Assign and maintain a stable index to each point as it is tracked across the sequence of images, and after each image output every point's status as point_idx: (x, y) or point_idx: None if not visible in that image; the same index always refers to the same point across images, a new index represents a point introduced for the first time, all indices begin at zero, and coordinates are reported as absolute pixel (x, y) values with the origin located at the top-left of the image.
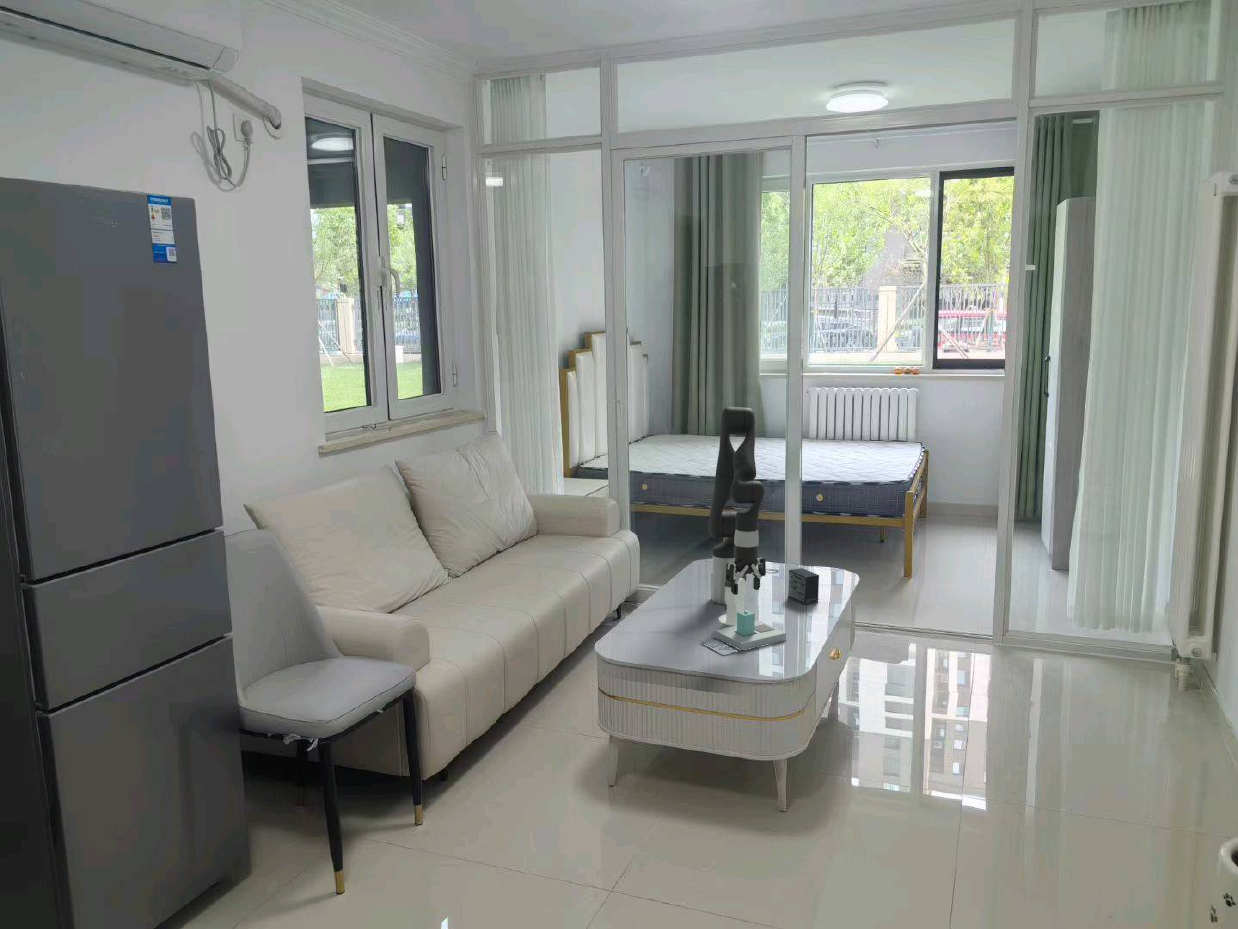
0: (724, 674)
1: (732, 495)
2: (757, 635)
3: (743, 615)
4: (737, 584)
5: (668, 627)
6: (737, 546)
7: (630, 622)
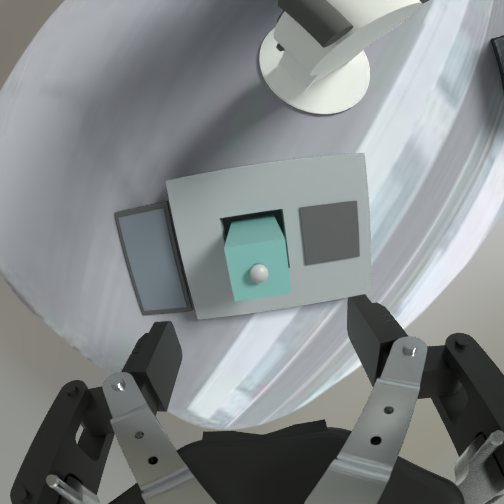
0: None
1: None
2: None
3: (233, 292)
4: (162, 407)
5: (93, 61)
6: None
7: (46, 25)
